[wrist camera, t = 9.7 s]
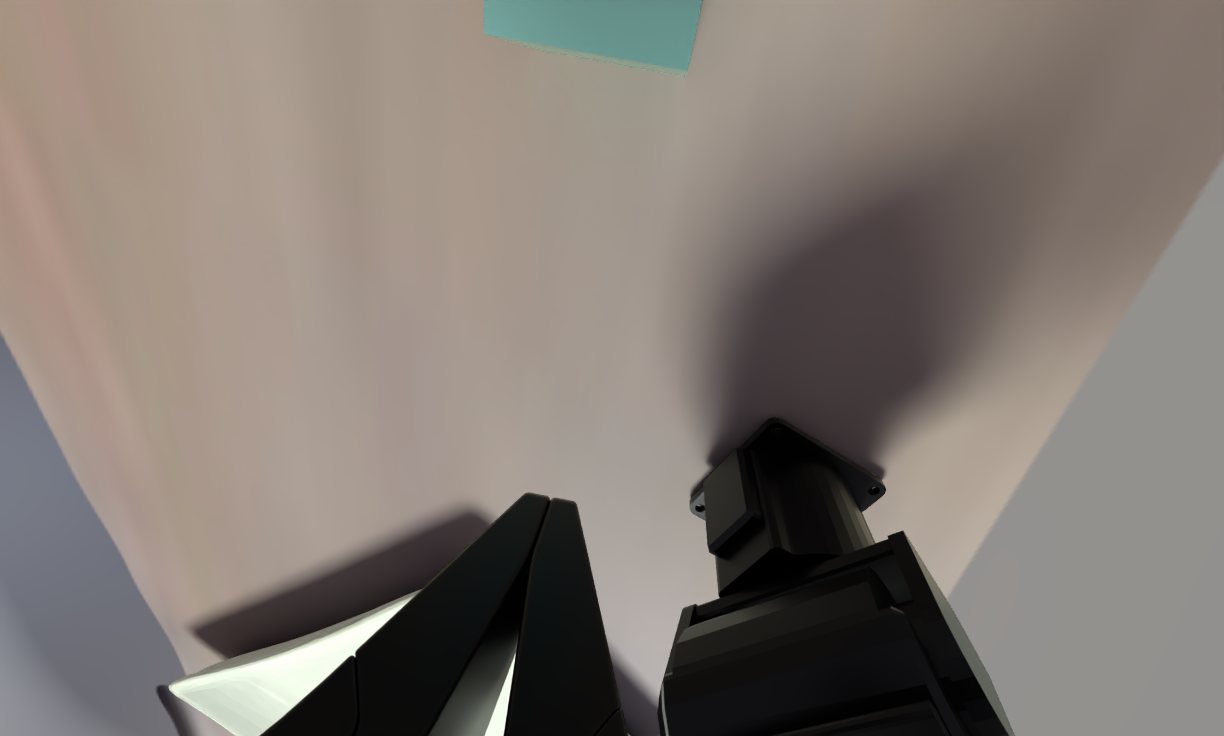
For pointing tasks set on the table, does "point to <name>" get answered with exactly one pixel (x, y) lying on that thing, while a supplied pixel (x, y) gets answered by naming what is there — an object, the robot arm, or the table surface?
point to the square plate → (291, 675)
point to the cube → (601, 30)
